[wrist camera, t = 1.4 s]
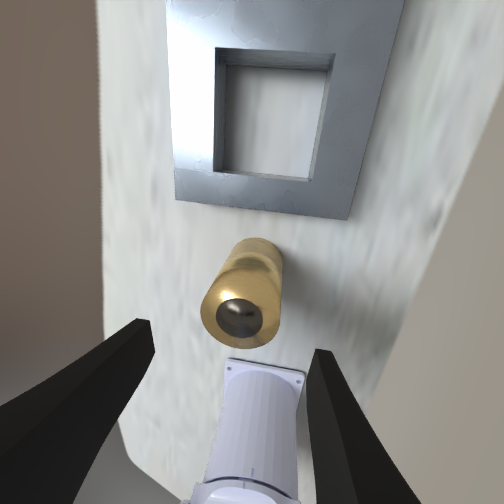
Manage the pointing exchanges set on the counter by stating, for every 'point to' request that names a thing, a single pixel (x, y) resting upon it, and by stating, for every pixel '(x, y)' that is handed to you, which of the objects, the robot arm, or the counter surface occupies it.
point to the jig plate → (276, 56)
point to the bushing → (246, 296)
